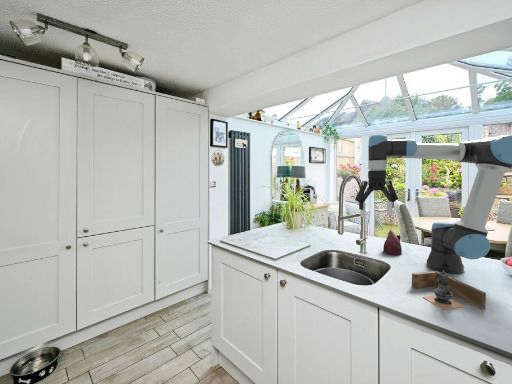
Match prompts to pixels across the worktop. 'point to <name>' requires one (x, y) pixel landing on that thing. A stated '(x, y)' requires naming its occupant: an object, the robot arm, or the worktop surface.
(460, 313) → the worktop surface
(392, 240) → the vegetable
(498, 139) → the robot arm
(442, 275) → the grey stone statuette
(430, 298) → the tile
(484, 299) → the wooden corner wall
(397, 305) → the worktop surface
